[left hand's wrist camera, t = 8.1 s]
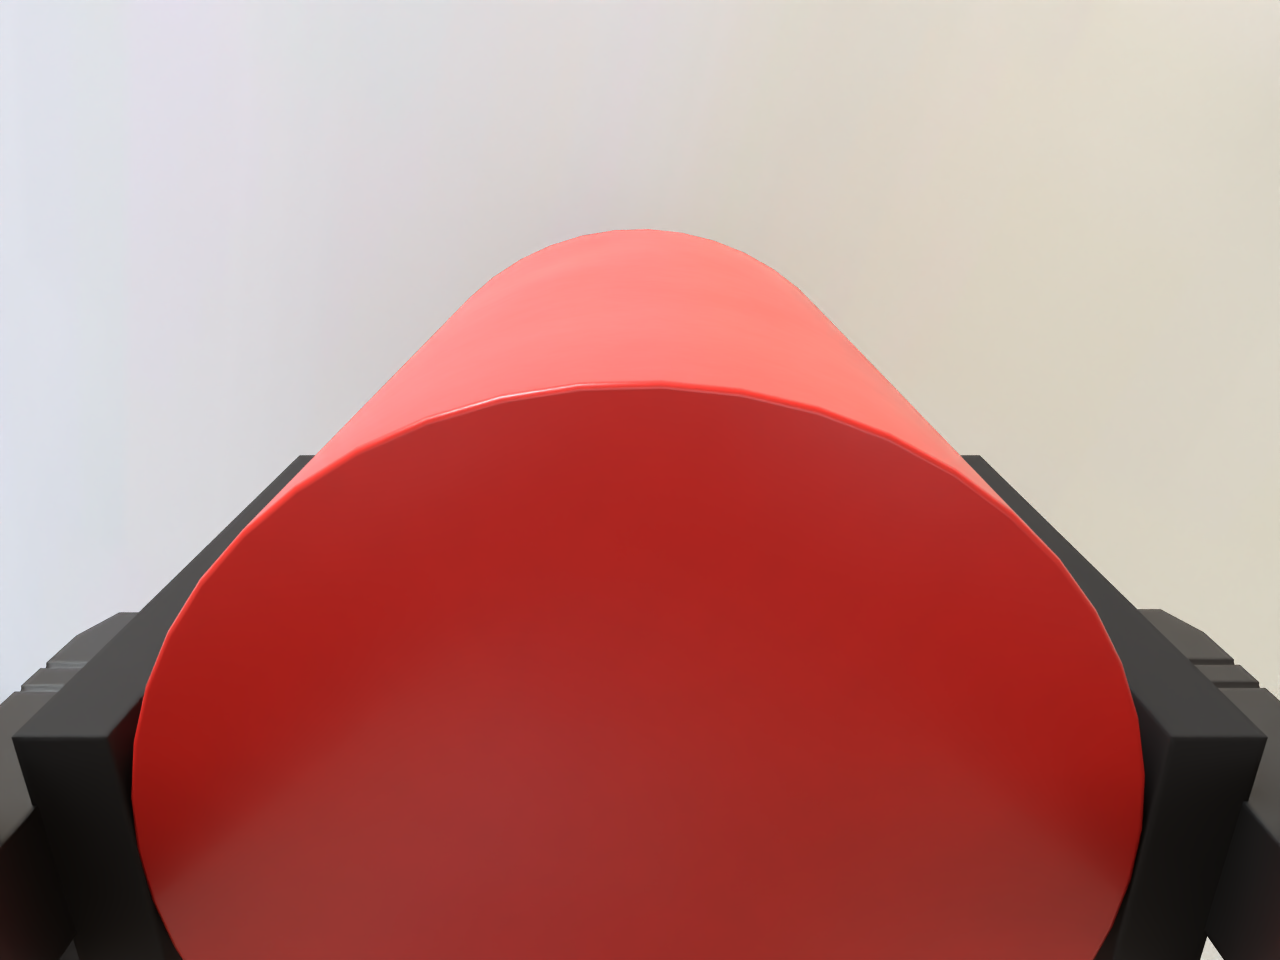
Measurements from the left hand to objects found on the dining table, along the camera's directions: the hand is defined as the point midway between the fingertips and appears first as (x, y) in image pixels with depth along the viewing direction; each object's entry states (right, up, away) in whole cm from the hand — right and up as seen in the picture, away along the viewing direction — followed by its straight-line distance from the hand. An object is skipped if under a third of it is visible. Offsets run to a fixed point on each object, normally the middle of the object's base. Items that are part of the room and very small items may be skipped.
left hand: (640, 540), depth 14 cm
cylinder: (0, +1, +3) cm, 3 cm away
